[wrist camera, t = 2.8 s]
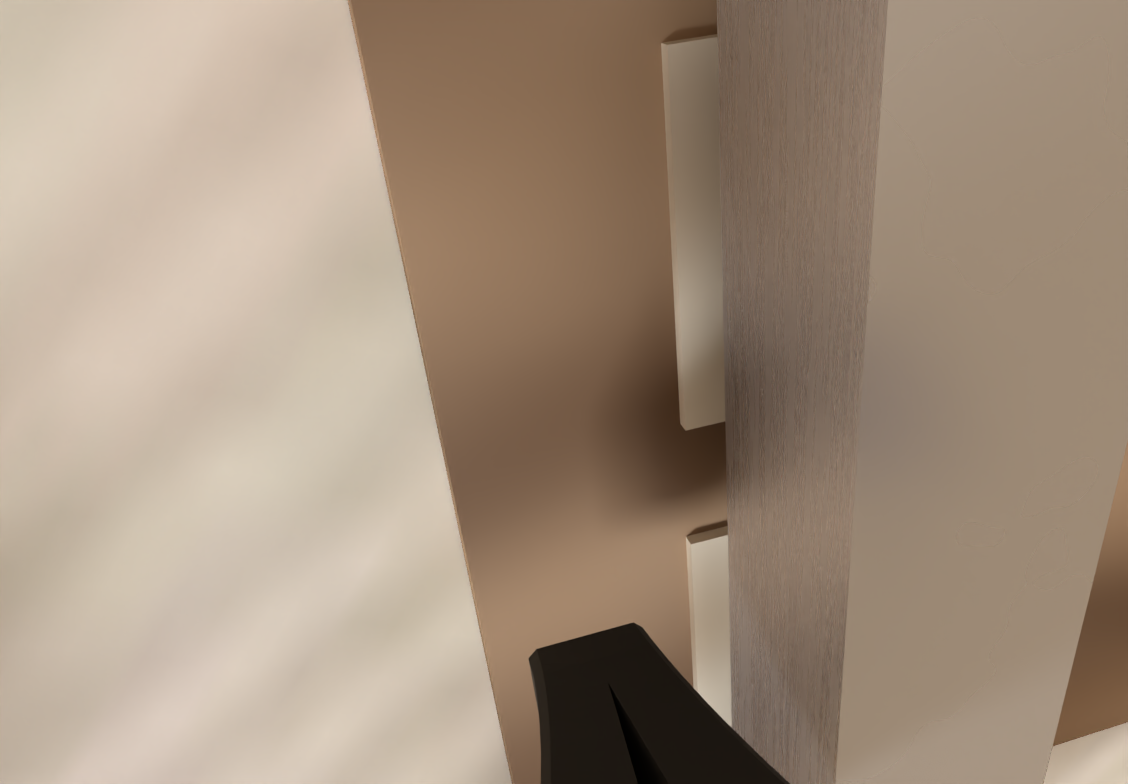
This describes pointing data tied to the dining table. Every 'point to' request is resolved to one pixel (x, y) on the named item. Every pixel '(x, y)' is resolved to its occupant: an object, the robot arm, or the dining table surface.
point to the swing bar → (918, 373)
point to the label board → (593, 331)
